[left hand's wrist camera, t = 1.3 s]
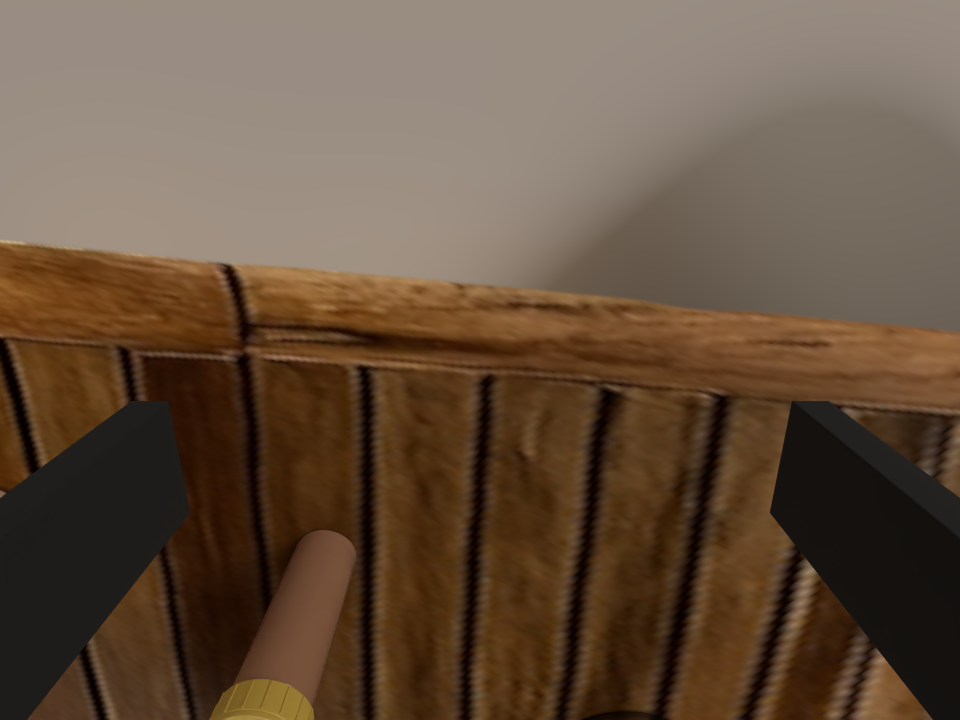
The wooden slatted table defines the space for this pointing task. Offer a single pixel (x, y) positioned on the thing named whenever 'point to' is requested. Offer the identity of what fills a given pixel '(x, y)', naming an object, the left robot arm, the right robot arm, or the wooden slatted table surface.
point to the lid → (262, 702)
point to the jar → (303, 615)
